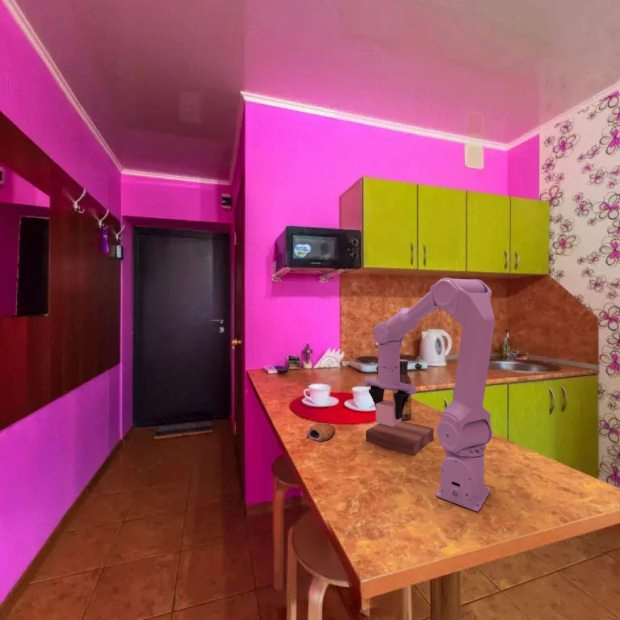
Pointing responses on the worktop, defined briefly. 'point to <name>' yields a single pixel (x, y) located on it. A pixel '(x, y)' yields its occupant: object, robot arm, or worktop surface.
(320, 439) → the pastry
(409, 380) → the sauce bottle
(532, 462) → the worktop surface
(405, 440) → the base
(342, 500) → the worktop surface
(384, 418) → the cube
